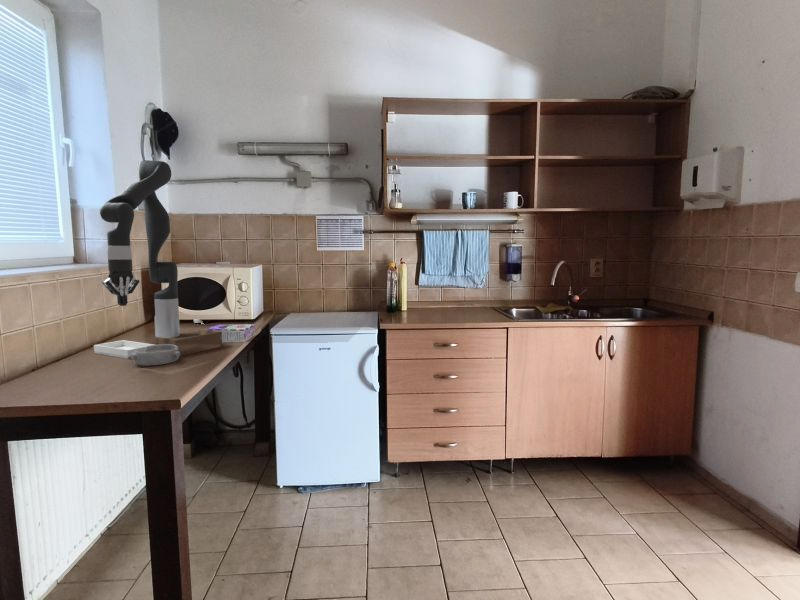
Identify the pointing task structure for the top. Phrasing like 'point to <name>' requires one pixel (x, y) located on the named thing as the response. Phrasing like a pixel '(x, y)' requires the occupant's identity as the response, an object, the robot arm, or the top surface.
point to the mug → (198, 321)
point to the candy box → (235, 332)
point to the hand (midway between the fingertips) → (122, 305)
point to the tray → (120, 348)
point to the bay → (195, 342)
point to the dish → (156, 355)
